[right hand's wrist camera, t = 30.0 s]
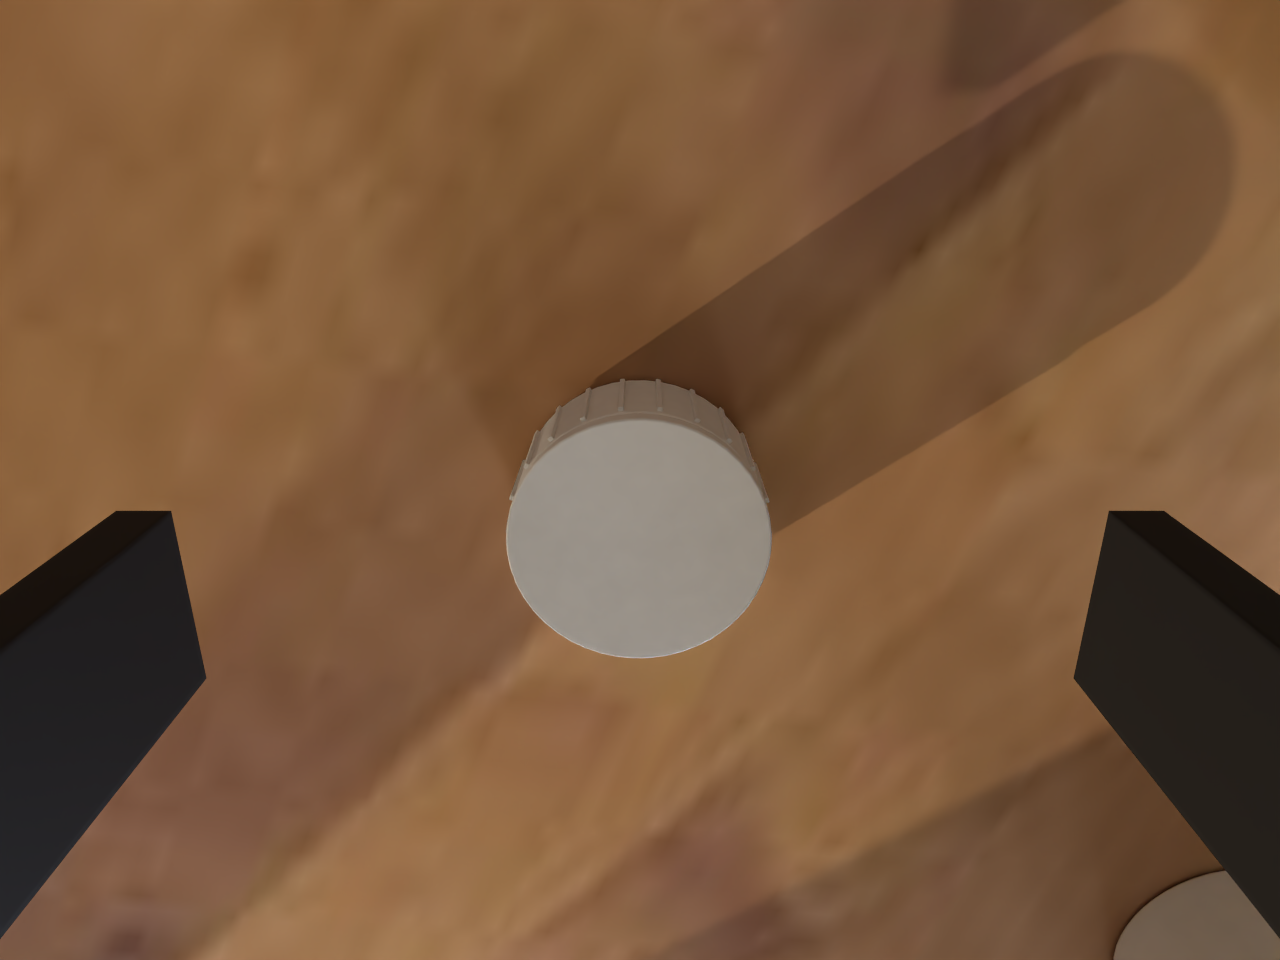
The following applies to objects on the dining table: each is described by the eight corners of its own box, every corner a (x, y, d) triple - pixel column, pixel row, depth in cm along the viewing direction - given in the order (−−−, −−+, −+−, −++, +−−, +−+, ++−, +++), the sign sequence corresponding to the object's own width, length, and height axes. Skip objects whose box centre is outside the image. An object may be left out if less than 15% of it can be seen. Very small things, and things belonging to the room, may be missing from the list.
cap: (800, 437, 15) (825, 484, 13) (691, 628, 17) (699, 697, 15) (578, 334, 15) (568, 368, 13) (485, 542, 16) (462, 603, 14)
